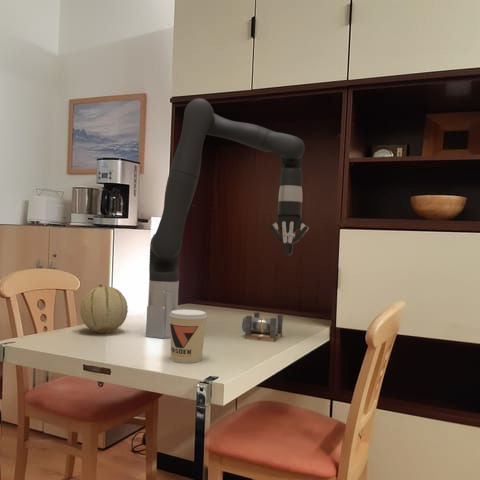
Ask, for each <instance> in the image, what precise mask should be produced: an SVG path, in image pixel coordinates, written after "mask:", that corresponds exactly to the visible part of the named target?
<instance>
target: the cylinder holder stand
mask: <svg viewBox="0 0 480 480" xmlns="http://www.w3.org/2000/svg"><path fill="white" fill-rule="evenodd" d="M253 315H254V316H252V315H245V317H246V331H245V332H244V334H245V335H244V340H250V341H251V340H252V341H261V342H268V343H269V342H271V343H275V342H276V341H278V340H279V339H280V338H282V337H283V323H284V322H283V319H284V318H283V317H284V315H283V314H277V317H270V318H271V320H270V334H261V333H251V325H252V317H257V318H261V317H260V312H254V313H253ZM276 319H278V320H279V331H278V334H277V335H276Z"/></svg>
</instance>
